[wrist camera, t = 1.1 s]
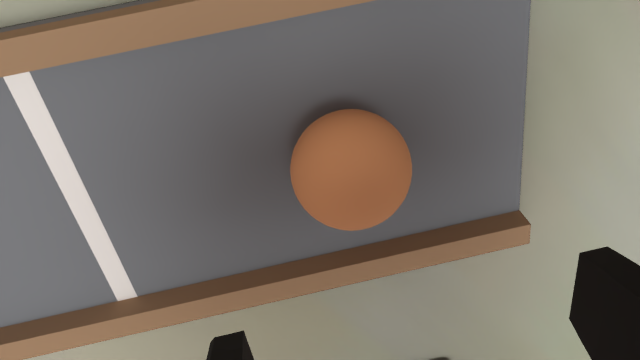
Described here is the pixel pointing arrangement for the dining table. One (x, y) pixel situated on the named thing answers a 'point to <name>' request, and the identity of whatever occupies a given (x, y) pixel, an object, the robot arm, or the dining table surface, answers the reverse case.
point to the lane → (239, 154)
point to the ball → (351, 169)
